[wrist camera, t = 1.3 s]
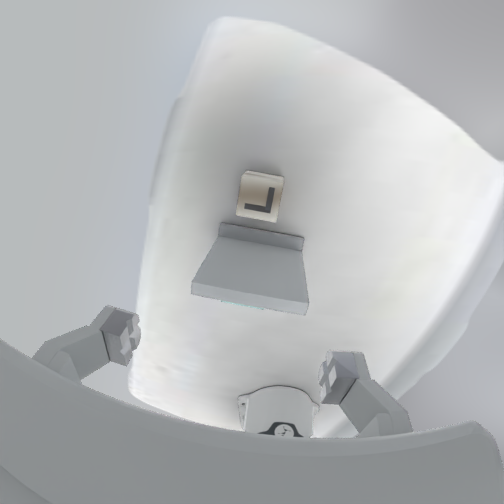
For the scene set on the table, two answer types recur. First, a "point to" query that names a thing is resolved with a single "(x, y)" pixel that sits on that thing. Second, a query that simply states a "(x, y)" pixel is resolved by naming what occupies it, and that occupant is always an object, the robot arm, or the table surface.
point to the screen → (254, 270)
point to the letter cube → (259, 196)
